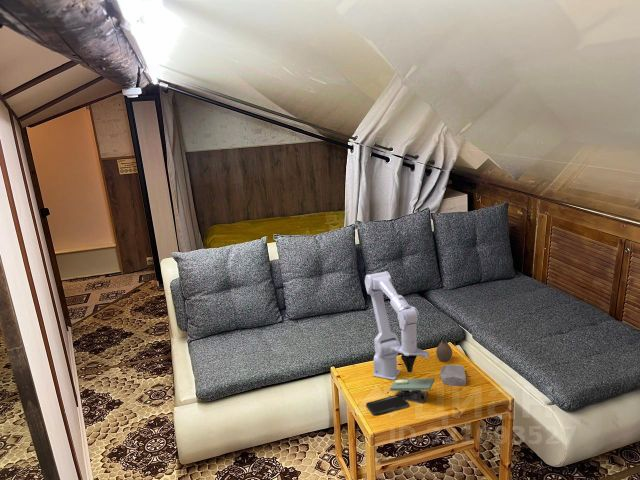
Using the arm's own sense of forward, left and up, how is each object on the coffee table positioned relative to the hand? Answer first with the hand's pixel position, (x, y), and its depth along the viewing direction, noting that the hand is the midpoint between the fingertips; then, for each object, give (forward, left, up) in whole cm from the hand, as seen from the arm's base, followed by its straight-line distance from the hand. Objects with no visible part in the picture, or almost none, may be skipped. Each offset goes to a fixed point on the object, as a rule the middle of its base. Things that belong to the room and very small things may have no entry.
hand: (409, 371), depth 177 cm
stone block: (+12, +19, -11) cm, 25 cm away
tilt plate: (+1, 0, -6) cm, 6 cm away
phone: (-6, -9, -11) cm, 16 cm away
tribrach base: (+1, 0, -11) cm, 11 cm away
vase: (+6, +32, -11) cm, 34 cm away
